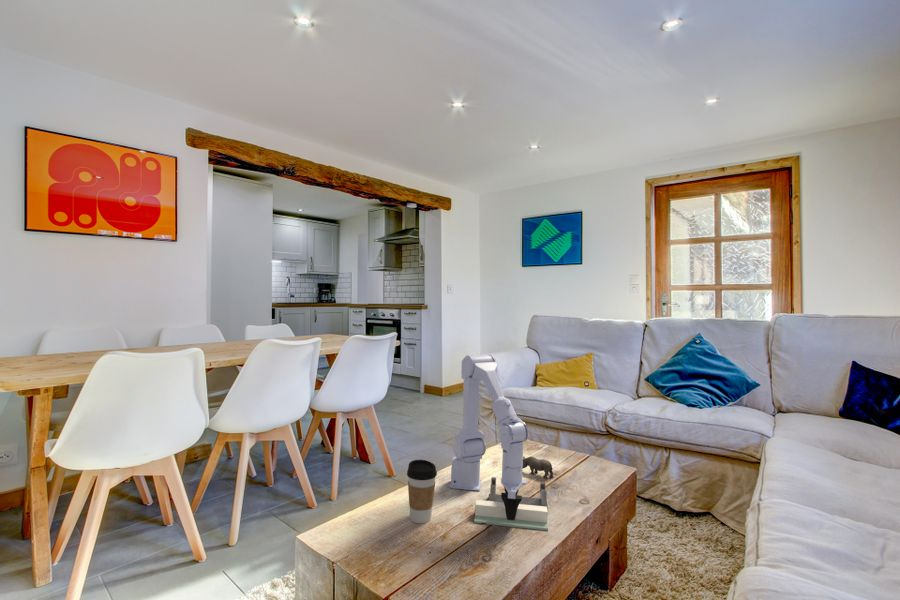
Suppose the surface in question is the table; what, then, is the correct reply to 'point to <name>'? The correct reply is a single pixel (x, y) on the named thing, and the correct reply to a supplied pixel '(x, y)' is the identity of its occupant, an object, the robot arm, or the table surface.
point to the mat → (511, 522)
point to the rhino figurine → (538, 466)
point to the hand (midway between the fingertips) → (510, 512)
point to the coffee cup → (421, 489)
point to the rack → (525, 500)
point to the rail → (522, 513)
